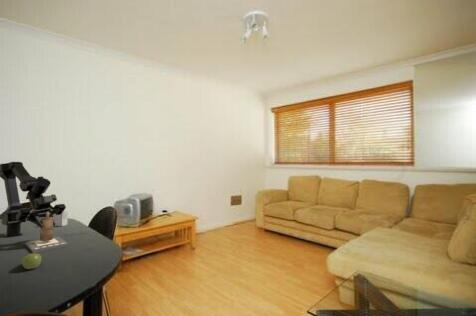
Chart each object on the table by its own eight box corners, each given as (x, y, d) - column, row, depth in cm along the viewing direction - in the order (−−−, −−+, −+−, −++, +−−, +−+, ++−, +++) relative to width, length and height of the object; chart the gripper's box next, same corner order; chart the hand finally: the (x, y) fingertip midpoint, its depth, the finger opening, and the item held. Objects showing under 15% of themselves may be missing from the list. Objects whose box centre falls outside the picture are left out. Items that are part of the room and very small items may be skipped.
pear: (21, 256, 91) (23, 253, 99) (21, 272, 90) (23, 267, 98) (41, 253, 94) (42, 250, 102) (41, 268, 93) (41, 264, 101)
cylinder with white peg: (42, 238, 122) (42, 211, 122) (54, 237, 123) (55, 210, 124) (38, 241, 117) (39, 213, 117) (51, 240, 119) (52, 212, 119)
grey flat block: (25, 244, 120) (25, 241, 120) (58, 238, 130) (58, 236, 130) (32, 253, 109) (33, 249, 109) (68, 246, 119) (68, 243, 119)
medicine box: (67, 224, 158) (67, 210, 159) (61, 226, 154) (62, 212, 154) (55, 224, 159) (56, 210, 159) (49, 226, 155) (50, 211, 155)
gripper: (20, 191, 114) (31, 218, 109) (64, 187, 131) (76, 211, 125) (11, 207, 118) (21, 234, 112) (55, 201, 134) (66, 225, 129)
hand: (48, 225), depth 120 cm, fingers closed on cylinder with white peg, 5 cm apart
